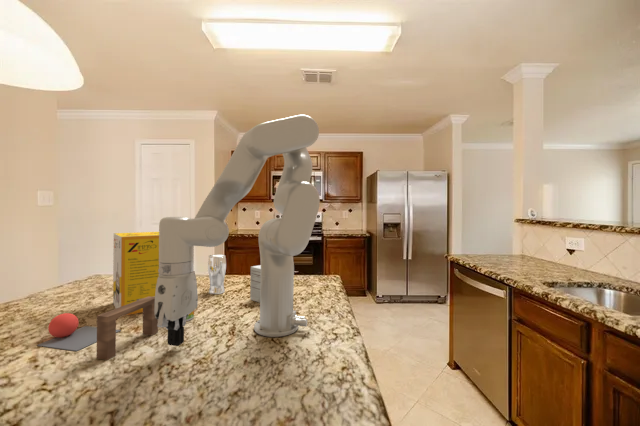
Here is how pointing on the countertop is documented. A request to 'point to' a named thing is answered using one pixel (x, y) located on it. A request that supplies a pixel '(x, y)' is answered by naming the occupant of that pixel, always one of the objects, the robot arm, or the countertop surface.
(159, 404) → the countertop surface
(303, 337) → the countertop surface
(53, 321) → the ball
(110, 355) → the bridge
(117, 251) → the packaging box
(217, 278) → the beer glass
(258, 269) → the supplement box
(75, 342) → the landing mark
